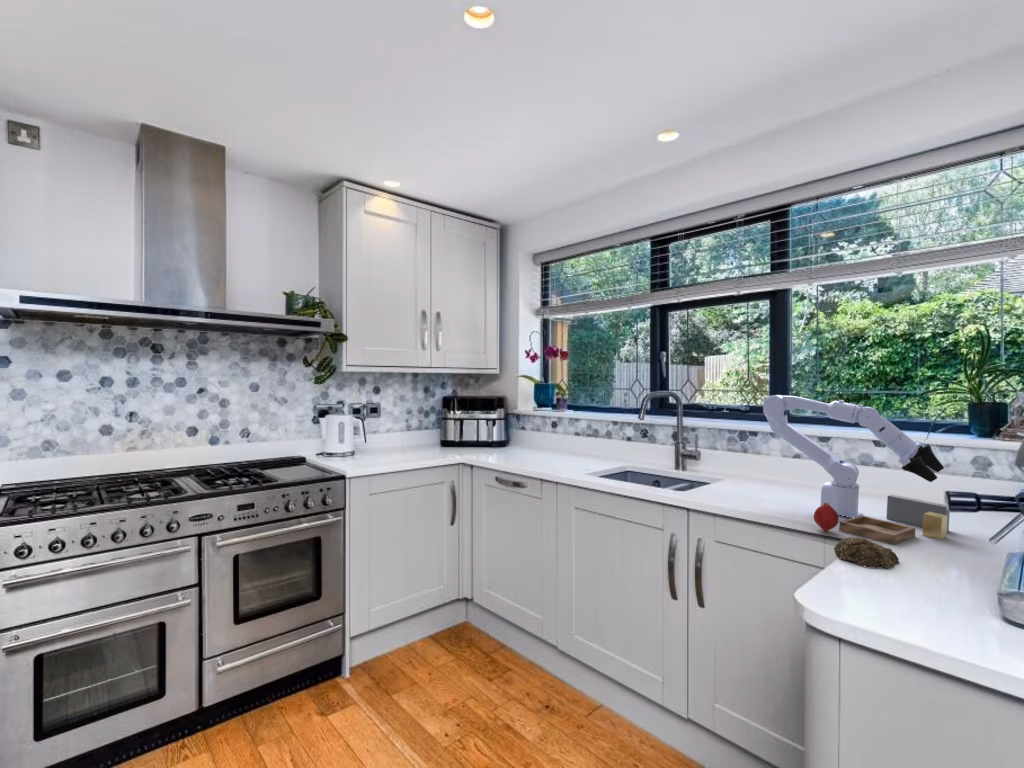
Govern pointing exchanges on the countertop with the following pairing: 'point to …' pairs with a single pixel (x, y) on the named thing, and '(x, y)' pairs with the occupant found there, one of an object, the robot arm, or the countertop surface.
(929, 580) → the countertop surface
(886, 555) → the bread roll
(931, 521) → the brass block
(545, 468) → the countertop surface
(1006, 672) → the countertop surface
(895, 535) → the tray
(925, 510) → the wall unit
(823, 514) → the onion
